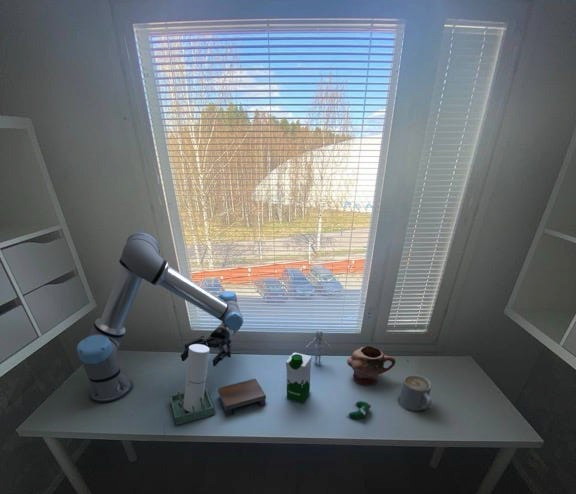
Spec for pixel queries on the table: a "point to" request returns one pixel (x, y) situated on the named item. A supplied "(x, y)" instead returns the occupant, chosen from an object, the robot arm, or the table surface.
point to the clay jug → (368, 364)
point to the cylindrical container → (196, 376)
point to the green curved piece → (361, 410)
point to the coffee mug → (416, 393)
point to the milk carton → (298, 376)
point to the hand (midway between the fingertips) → (197, 360)
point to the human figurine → (318, 345)
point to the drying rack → (183, 418)
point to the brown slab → (241, 395)
